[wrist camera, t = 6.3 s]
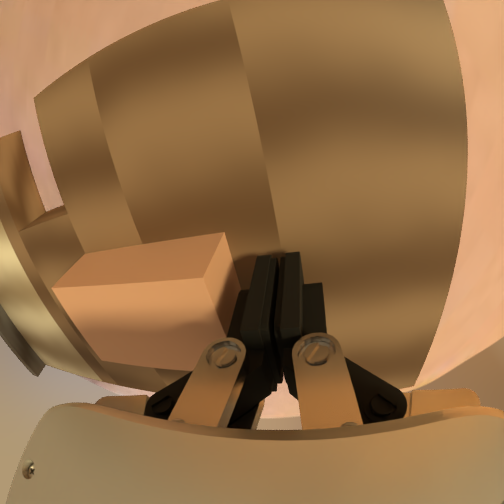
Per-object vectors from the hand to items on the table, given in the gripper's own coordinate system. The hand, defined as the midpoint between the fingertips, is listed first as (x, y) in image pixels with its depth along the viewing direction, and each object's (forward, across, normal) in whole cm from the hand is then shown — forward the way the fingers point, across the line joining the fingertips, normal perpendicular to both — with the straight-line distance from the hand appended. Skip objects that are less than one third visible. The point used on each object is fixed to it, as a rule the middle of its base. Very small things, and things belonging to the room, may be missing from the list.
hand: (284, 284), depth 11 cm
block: (+1, +6, 0) cm, 6 cm away
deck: (+4, +11, 0) cm, 12 cm away
